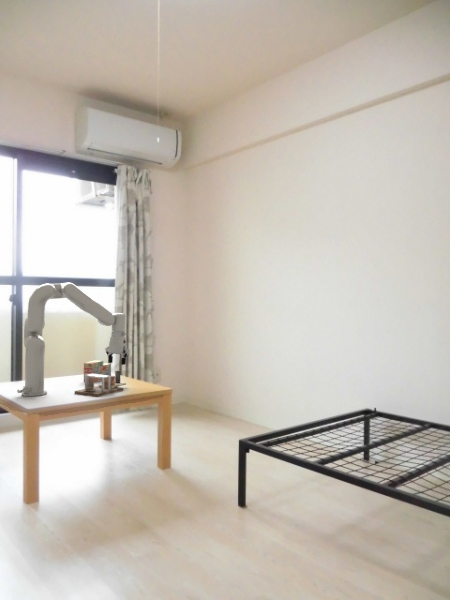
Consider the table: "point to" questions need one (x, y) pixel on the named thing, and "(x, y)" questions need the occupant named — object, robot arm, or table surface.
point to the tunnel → (90, 381)
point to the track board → (98, 391)
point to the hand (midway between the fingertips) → (116, 363)
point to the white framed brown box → (113, 381)
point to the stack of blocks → (97, 369)
